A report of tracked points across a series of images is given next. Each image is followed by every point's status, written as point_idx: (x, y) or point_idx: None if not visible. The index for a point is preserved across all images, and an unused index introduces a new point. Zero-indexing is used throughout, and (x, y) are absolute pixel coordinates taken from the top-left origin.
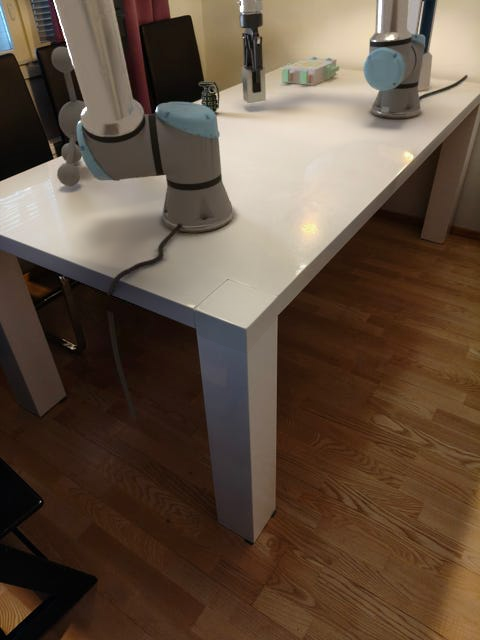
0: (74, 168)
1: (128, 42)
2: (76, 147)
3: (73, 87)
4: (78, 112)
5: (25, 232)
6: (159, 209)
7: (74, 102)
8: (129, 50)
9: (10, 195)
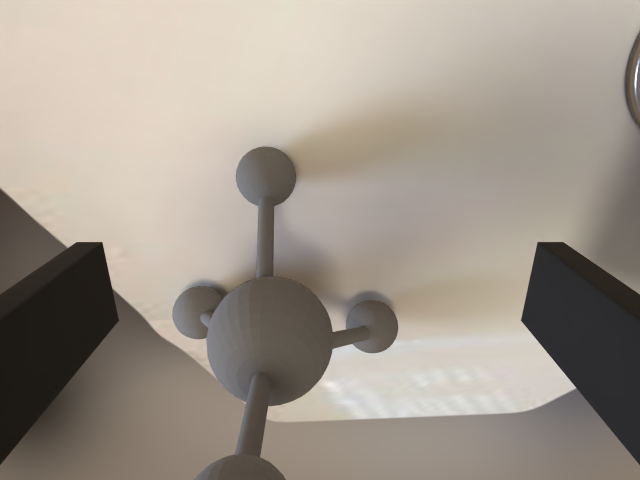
0: (386, 321)
1: (603, 271)
2: (205, 307)
3: (258, 408)
4: (319, 358)
5: (538, 386)
6: (605, 143)
7: (279, 380)
8: (569, 249)
9: (349, 412)
